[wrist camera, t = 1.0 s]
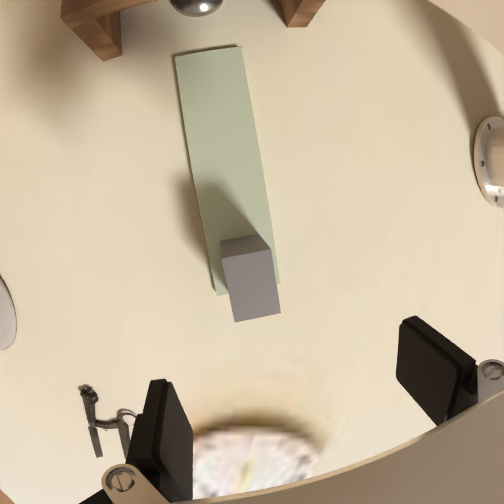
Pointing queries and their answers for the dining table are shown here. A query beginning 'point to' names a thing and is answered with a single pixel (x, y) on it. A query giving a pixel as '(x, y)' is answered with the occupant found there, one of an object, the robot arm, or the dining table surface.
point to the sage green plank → (229, 180)
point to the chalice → (6, 318)
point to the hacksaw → (89, 402)
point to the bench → (110, 3)
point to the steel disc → (196, 7)
